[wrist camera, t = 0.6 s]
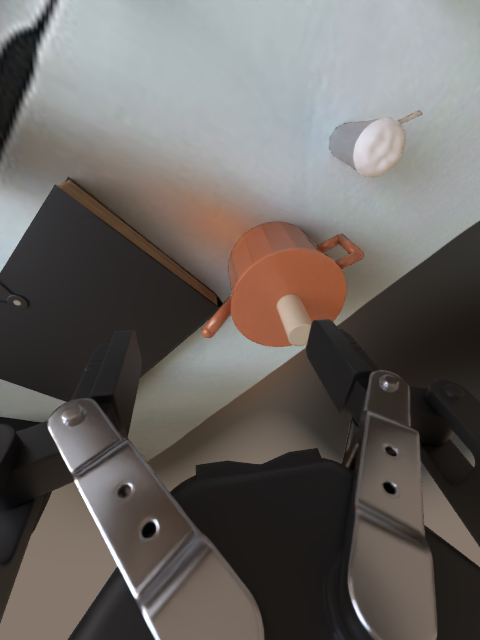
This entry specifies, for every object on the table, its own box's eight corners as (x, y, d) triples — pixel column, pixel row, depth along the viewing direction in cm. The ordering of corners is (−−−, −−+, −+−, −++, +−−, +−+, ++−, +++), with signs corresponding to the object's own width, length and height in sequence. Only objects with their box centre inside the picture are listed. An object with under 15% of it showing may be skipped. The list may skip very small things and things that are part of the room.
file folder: (51, 183, 26) (224, 313, 39) (67, 175, 29) (222, 297, 42) (-57, 360, 38) (102, 415, 51) (-38, 340, 41) (107, 397, 54)
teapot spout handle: (341, 228, 35) (364, 248, 30) (344, 239, 36) (367, 260, 31) (199, 306, 40) (198, 334, 35) (206, 314, 41) (206, 343, 36)
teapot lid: (322, 220, 27) (350, 246, 22) (355, 311, 35) (381, 346, 30) (207, 285, 30) (208, 322, 25) (261, 355, 38) (270, 394, 33)
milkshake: (376, 124, 30) (437, 129, 22) (342, 171, 32) (387, 191, 25) (347, 97, 28) (403, 92, 20) (314, 149, 31) (353, 163, 23)
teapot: (295, 202, 34) (321, 228, 27) (325, 276, 41) (352, 313, 34) (211, 253, 37) (213, 289, 30) (253, 314, 44) (263, 355, 37)
